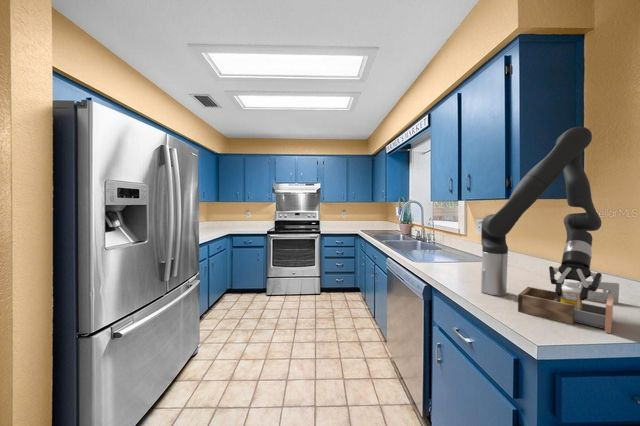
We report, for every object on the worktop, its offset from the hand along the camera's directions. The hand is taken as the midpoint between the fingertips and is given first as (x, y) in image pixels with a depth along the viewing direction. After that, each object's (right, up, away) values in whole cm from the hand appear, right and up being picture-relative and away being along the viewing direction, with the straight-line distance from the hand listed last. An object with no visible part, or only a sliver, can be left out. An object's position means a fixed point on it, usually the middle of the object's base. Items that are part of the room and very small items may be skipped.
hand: (570, 296), depth 95 cm
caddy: (-3, -7, +6) cm, 10 cm away
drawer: (+3, -7, 0) cm, 8 cm away
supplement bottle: (+1, -5, +1) cm, 5 cm away
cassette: (+27, -7, +18) cm, 33 cm away
